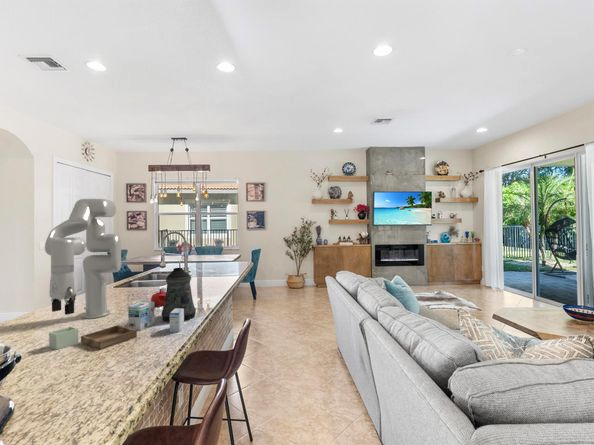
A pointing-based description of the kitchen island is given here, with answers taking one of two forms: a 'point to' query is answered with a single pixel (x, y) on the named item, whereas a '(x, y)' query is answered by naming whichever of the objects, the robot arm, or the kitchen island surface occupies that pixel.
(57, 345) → the small crate
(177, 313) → the medicine box
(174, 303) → the beer stein
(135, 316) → the light bulb box
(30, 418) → the kitchen island surface
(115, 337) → the crate
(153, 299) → the pomegranate
